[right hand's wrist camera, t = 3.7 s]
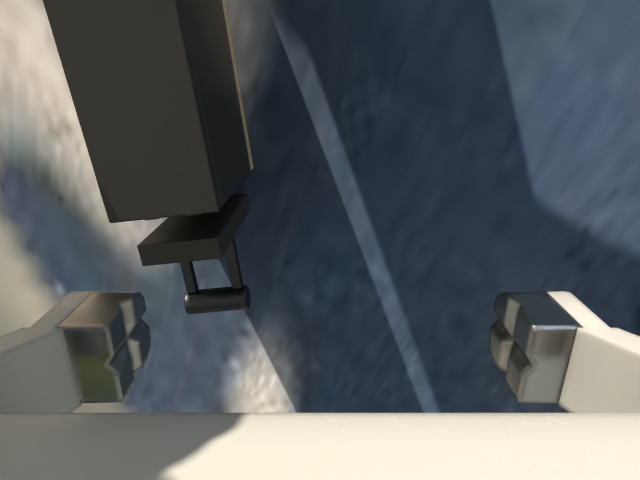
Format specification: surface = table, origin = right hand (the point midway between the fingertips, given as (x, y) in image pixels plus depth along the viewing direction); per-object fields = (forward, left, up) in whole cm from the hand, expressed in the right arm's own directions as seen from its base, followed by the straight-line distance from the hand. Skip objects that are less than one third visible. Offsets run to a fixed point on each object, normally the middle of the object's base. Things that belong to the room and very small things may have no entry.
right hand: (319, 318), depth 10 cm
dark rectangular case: (+11, +6, -22) cm, 25 cm away
